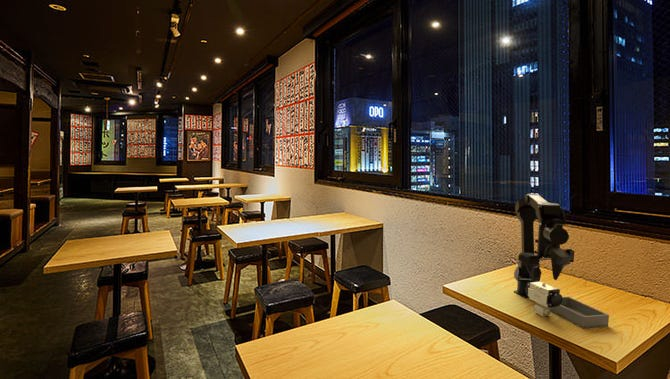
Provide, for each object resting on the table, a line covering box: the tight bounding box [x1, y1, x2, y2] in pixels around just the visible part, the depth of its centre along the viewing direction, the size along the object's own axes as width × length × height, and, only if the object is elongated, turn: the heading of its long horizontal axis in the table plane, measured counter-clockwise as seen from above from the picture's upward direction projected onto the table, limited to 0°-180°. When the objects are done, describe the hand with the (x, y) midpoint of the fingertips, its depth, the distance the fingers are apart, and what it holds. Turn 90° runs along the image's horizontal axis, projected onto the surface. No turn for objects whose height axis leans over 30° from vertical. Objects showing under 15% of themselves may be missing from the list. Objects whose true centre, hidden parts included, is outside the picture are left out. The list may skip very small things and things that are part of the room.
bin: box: [549, 296, 610, 329], centre depth 124 cm, size 16×10×4 cm, turn 11°
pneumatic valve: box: [525, 281, 564, 318], centre depth 125 cm, size 6×12×12 cm, turn 19°
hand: (544, 280), depth 124 cm, fingers open, 9 cm apart
